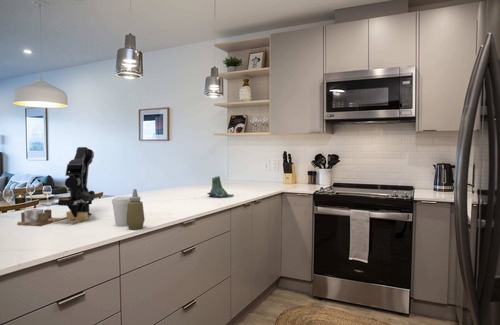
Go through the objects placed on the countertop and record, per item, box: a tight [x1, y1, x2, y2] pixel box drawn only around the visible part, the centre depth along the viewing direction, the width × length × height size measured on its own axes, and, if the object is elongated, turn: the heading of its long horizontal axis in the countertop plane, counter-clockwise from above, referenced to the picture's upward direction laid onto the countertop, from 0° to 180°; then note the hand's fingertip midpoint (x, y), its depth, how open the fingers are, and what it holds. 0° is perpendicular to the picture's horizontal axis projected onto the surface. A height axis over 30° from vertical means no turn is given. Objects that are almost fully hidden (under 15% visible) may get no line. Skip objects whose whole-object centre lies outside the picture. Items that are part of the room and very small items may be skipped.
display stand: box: [16, 208, 61, 227], centre depth 166 cm, size 13×13×7 cm
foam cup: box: [111, 196, 131, 227], centre depth 161 cm, size 10×9×13 cm
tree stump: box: [206, 175, 234, 199], centre depth 255 cm, size 18×20×18 cm
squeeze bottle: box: [126, 188, 145, 230], centre depth 154 cm, size 8×8×18 cm
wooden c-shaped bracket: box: [52, 211, 89, 225], centre depth 167 cm, size 11×11×4 cm
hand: (77, 216), depth 172 cm, fingers closed on wooden c-shaped bracket, 2 cm apart
